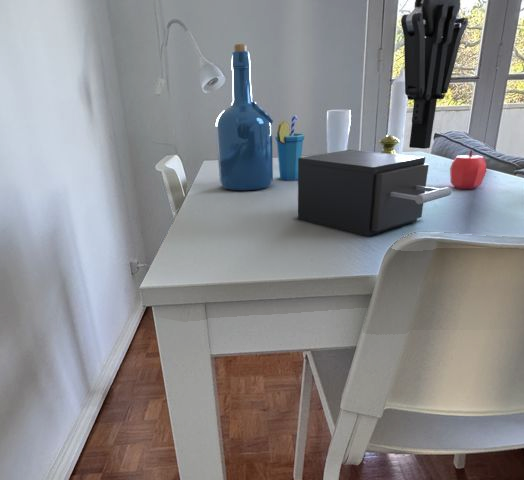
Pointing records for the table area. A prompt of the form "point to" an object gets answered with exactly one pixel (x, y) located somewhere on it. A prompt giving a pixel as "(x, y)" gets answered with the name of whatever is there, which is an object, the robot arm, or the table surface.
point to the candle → (398, 111)
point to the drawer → (402, 195)
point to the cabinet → (344, 187)
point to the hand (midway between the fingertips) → (419, 147)
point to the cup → (288, 150)
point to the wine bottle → (244, 134)
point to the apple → (467, 171)
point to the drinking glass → (337, 130)
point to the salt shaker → (388, 144)
